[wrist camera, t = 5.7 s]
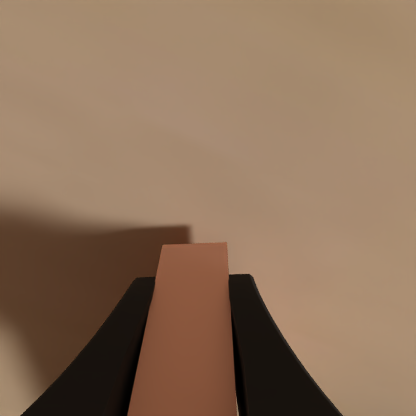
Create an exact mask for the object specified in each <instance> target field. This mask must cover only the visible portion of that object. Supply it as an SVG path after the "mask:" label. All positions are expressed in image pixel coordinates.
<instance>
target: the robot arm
mask: <svg viewBox="0 0 416 416" xmlns="http://www.w3.org/2000/svg"><path fill="white" fill-rule="evenodd" d="M155 279H156V277H143V278H136V279H135V280H134V281H133V282H132V284H131V285H130V287H129V288H128V290H127V291H126V293H125V294H124V296H123V297H122V299H121V300H120V302H119V303H118V304H117V306H116V307H115V309H114V310H113V311H112V313H111V314H110V316H109V317H108V318H107V320H106V321H105V322H104V323H103V325H102V326H101V327H100V329H99V330H98V331H97V333H96V334H95V335H94V337H93V338H92V339H91V340H90V342H89V343H88V344H87V345H86V346H85V347H84V349H83V350H82V351H81V352H80V353H79V355H78V356H77V357H76V358H75V359H74V361H73V362H72V363H71V364H70V365H69V366H68V367H67V369H66V370H65V371H64V372H63V373H62V374H61V375H60V376H59V377H58V378H57V380H56V381H55V382H54V383H53V384H52V385H51V386H50V387H49V388H48V389H47V390H46V391H45V392H44V393H43V394H42V395H41V396H40V397H39V398H38V399H37V400H36V401H35V402H34V403H33V404H32V405H31V406H30V407H29V408H28V409H27V410H26V411H25V412H24V413H23V414H21V415H20V416H127V415H128V410H129V405H130V400H131V395H132V390H133V386H134V381H135V376H136V371H137V366H138V361H139V356H140V352H141V347H142V342H143V337H144V332H145V327H146V323H147V318H148V313H149V308H150V304H151V301H152V297H153V292H154V288H155V283H156V282H155ZM228 284H229V299H230V306H231V323H232V340H233V357H234V375H235V390H236V397H237V404H238V411H239V416H343V415H342V414H341V413H340V412H339V410H338V409H337V408H336V407H335V406H334V405H333V403H332V402H331V401H330V400H329V399H328V397H327V396H326V395H325V394H324V392H323V391H322V390H321V389H320V387H319V386H318V385H317V384H316V382H315V381H314V380H313V378H312V377H311V376H310V374H309V373H308V372H307V370H306V369H305V368H304V366H303V365H302V364H301V362H300V361H299V359H298V358H297V356H296V355H295V353H294V352H293V351H292V349H291V348H290V346H289V345H288V343H287V341H286V340H285V338H284V337H283V335H282V334H281V332H280V330H279V329H278V327H277V325H276V324H275V322H274V320H273V318H272V317H271V315H270V313H269V311H268V310H267V308H266V306H265V304H264V302H263V300H262V298H261V296H260V293H259V291H258V289H257V287H256V284H255V281H254V278H253V277H252V276H251V275H250V274H234V275H229V280H228Z"/></svg>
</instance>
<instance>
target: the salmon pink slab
mask: <svg viewBox="0 0 416 416" xmlns="http://www.w3.org/2000/svg"><path fill="white" fill-rule="evenodd" d="M228 280H229V271H228V254H227V242H224V243H196V244H169V245H162V250H161V255H160V260H159V265H158V269H157V274H156V279H155V282H156V283H155V288H154V292H153V297H152V301H151V304H150V308H149V313H148V318H147V323H146V327H145V332H144V337H143V342H142V347H141V352H140V356H139V361H138V366H137V371H136V376H135V381H134V386H133V390H132V395H131V400H130V405H129V410H128V415H127V416H237V409H236V392H235V375H234V357H233V340H232V323H231V306H230V299H229V284H228Z"/></svg>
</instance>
